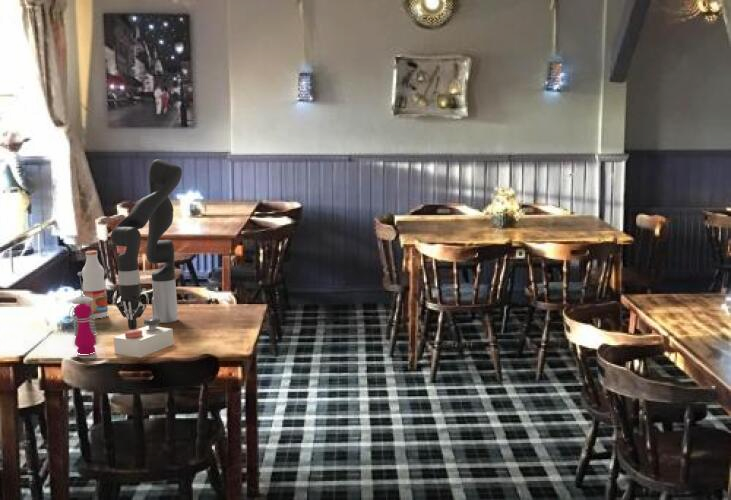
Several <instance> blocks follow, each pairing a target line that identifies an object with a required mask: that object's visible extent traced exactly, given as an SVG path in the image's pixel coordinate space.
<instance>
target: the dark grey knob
mask: <svg viewBox="0 0 731 500" xmlns="http://www.w3.org/2000/svg"><path fill="white" fill-rule="evenodd" d="M159 324H162V323H161V320H160V318H153V317H148V318H144V319H143V325H144V326H149V331H152V332H154V331H157V327H158V325H159Z"/></svg>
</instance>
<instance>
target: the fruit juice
mask: <svg viewBox="0 0 731 500" xmlns="http://www.w3.org/2000/svg"><path fill="white" fill-rule="evenodd" d="M98 253H99V252H98V250H87V251H85V257H86V258H85V259H86V260H85V264H84V266H83V268H82V270H81V272H82V274H83V275H81V276H82V279H83V281H82V295H83V294H84V295H85V296H86V297H90V298H92V299H93V301H92V302H89V303H84V304H88V305H89V306H90V307H91V309H92V310H93V311H92V313H94V318H101V319H104V318H103V317H105V318H107V317H108V316H109V307H108V296H107V295H108V294H107V286H106V285H107V284H106V280H105V278H104V277H105V268H104V267H103V266H102V265H101V263H100V262H99V258H98ZM106 316H107V317H106Z"/></svg>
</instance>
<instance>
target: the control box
mask: <svg viewBox="0 0 731 500" xmlns="http://www.w3.org/2000/svg"><path fill="white" fill-rule="evenodd" d="M156 327H157V331H154V332H152V331H149V325H144V326H143V327H140V328H136V330H141V331H142V336H141V337H137V338H126V337H125V333H122V334H119V335H117V336H115V337H113V345H114V346H113V348H114V354H116V355H122V356H128V357H135V358H142V357H144V356H148V355H150V354H152V353H153V354H154V353H155V352H158V351H160V350H163V349H165V348H168V347H170V346H173V345H174V330H173V328H168V327H160V326H156Z"/></svg>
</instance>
